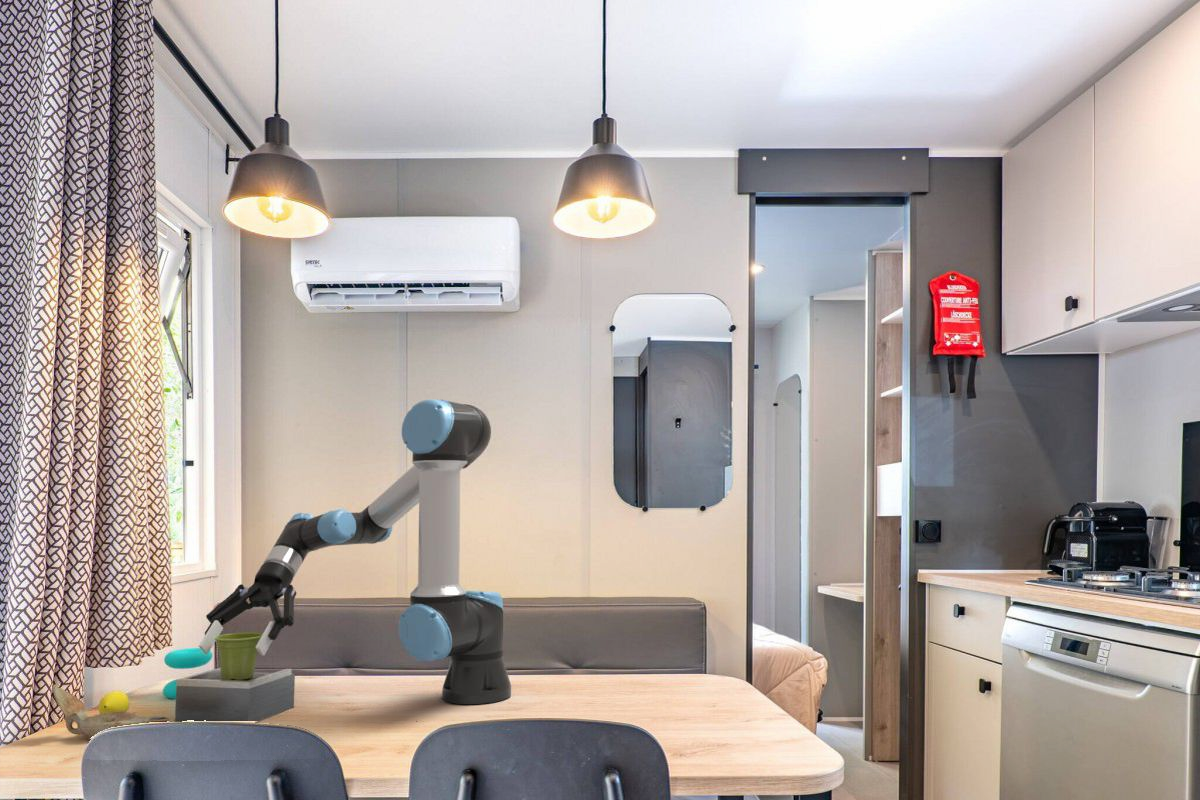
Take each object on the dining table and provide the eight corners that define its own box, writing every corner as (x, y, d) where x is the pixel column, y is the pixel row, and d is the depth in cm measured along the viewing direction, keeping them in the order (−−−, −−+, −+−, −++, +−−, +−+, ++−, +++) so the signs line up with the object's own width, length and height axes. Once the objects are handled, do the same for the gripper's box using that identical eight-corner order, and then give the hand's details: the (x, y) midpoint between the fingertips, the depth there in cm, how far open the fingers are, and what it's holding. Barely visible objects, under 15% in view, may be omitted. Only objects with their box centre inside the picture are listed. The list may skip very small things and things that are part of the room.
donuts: (157, 651, 192) (201, 645, 199) (155, 696, 190) (199, 688, 198) (175, 656, 185) (220, 649, 193) (173, 702, 184) (218, 694, 191)
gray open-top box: (293, 707, 177) (294, 667, 178) (248, 725, 162) (249, 682, 163) (213, 703, 182) (215, 665, 183) (162, 721, 167) (164, 679, 168)
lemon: (108, 717, 174) (111, 690, 175) (134, 716, 174) (137, 689, 175) (89, 721, 167) (92, 692, 168) (116, 720, 167) (119, 692, 168)
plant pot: (245, 672, 179) (247, 631, 180) (271, 676, 174) (272, 634, 175) (204, 679, 172) (205, 636, 173) (229, 684, 166) (230, 640, 167)
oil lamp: (62, 733, 160) (66, 679, 161) (178, 728, 162) (180, 675, 163) (36, 746, 151) (40, 689, 152) (158, 740, 153) (161, 684, 155)
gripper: (333, 582, 187) (291, 663, 170) (238, 581, 193) (188, 660, 176) (320, 559, 182) (276, 640, 166) (223, 560, 188) (171, 638, 172)
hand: (231, 650), depth 171 cm, fingers open, 13 cm apart
